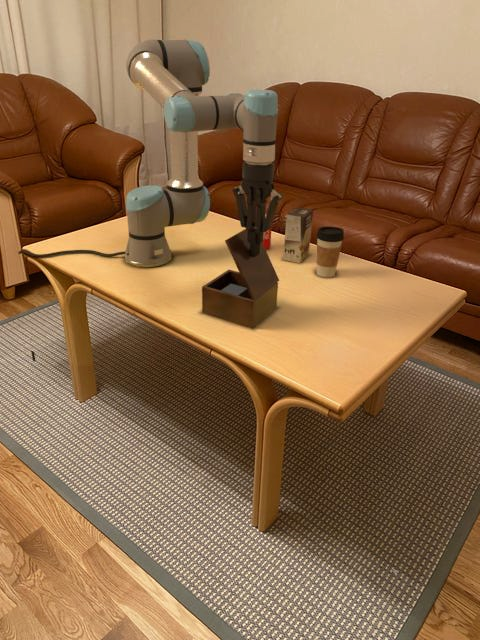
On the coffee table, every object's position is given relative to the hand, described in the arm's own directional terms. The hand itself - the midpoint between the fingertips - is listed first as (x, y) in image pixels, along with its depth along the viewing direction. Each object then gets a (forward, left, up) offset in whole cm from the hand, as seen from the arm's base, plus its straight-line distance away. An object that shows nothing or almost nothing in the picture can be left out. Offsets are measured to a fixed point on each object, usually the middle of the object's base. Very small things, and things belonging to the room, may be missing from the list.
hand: (254, 255), depth 134 cm
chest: (-4, +1, -17) cm, 18 cm away
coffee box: (+2, +44, -18) cm, 48 cm away
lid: (-1, 0, -2) cm, 2 cm away
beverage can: (-11, +48, -18) cm, 52 cm away
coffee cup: (+14, +34, -18) cm, 41 cm away
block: (-6, +1, -16) cm, 17 cm away
